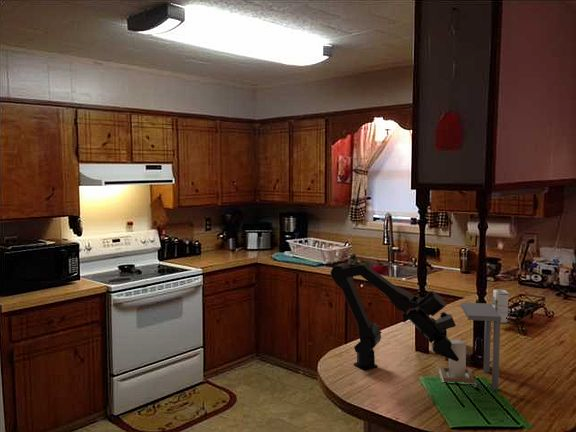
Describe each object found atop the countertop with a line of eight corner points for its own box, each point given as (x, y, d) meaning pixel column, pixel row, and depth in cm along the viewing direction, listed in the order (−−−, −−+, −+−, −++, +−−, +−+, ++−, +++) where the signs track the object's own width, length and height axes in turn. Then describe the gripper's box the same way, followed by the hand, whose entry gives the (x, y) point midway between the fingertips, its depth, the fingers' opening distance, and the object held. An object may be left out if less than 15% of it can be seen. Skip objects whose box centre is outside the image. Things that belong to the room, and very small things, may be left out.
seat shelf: (443, 386, 170) (444, 314, 168) (438, 367, 186) (439, 301, 184) (498, 390, 167) (501, 316, 165) (488, 370, 183) (490, 303, 180)
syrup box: (491, 319, 244) (492, 289, 243) (504, 319, 243) (505, 289, 242) (494, 322, 238) (495, 292, 237) (508, 323, 238) (509, 292, 236)
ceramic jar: (444, 375, 178) (445, 341, 177) (456, 371, 181) (457, 338, 180) (457, 380, 173) (458, 346, 172) (468, 377, 176) (469, 343, 175)
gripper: (444, 315, 167) (479, 350, 166) (438, 300, 185) (469, 331, 184) (419, 337, 169) (453, 371, 168) (415, 320, 187) (446, 351, 186)
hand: (456, 355), depth 176 cm, fingers open, 9 cm apart
